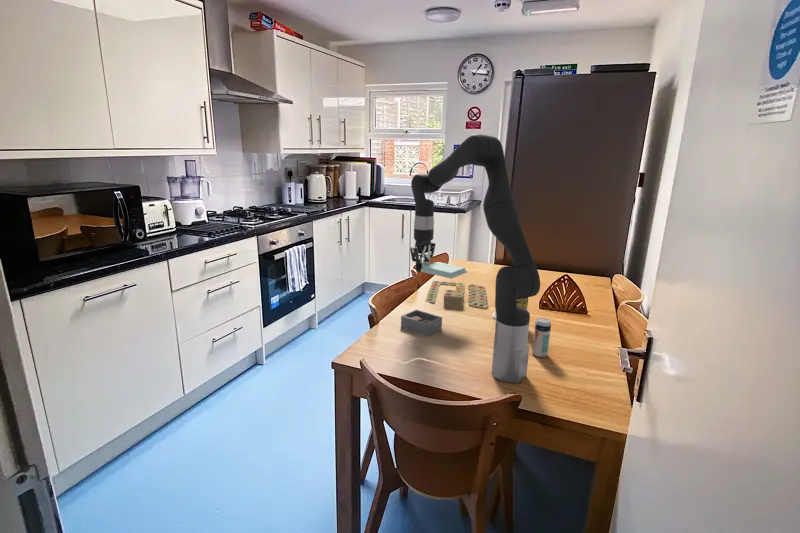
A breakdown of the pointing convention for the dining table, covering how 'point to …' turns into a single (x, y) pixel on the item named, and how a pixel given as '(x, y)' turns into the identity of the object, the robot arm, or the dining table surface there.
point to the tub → (421, 326)
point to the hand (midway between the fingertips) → (422, 270)
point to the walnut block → (417, 318)
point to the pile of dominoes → (459, 295)
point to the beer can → (541, 337)
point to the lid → (442, 269)
